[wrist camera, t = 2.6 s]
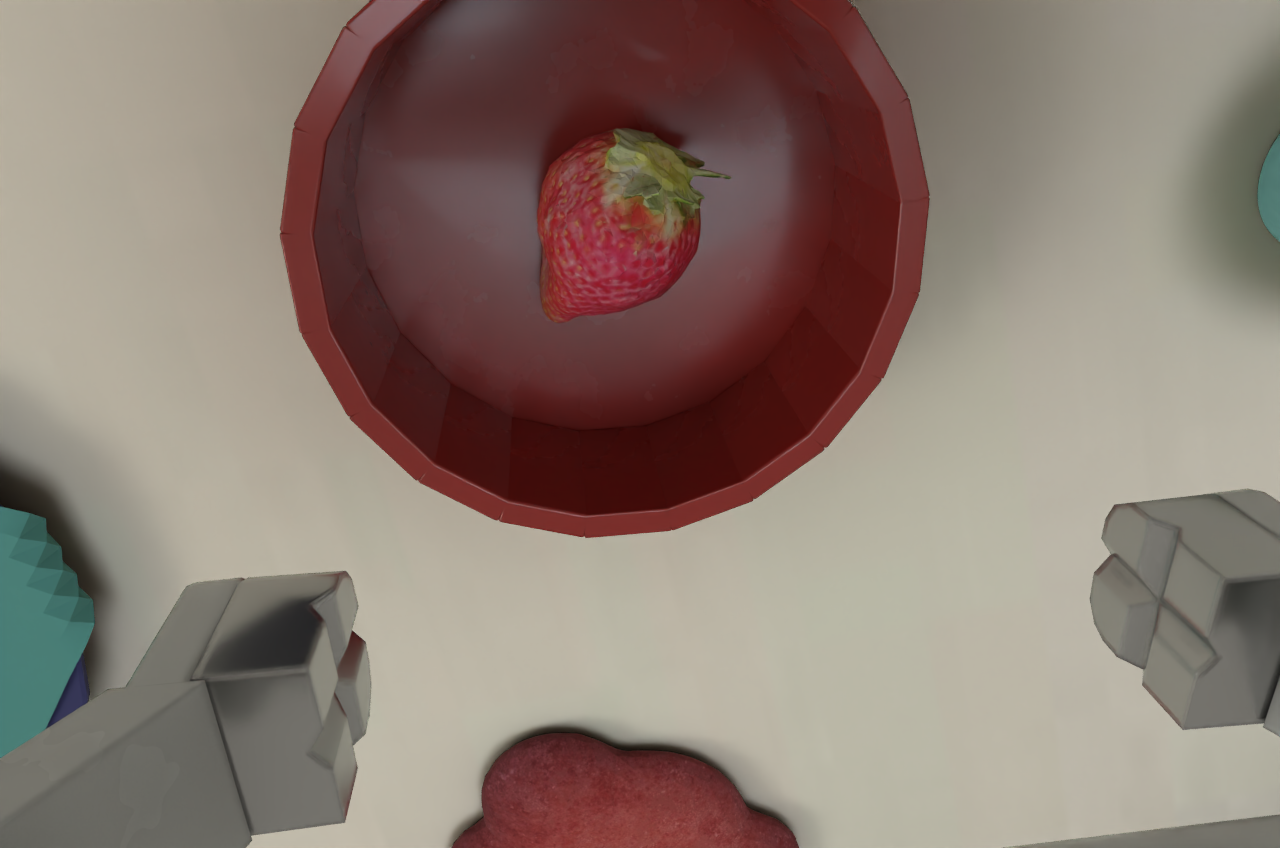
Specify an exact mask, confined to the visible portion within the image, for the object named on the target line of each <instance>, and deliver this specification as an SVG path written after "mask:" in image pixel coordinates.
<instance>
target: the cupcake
mask: <svg viewBox="0 0 1280 848" xmlns="http://www.w3.org/2000/svg"><path fill="white" fill-rule="evenodd" d="M1258 206H1259V211H1260V215H1261V218H1262V220H1263V222H1264V224H1265V226H1266V228H1267V229H1268V230H1269V232H1270V233H1271V234H1272V235H1273V236H1274V237H1275V238H1276V239H1277V240H1278V241H1279V242H1280V134H1279V136H1278V137H1277V139H1276V140H1275V142H1274V143H1273V145H1272V147H1271V149H1270V150H1269V152H1268V155H1267V157H1266V159H1265V161H1264V164H1263V167H1262V170H1261V174H1260V178H1259V183H1258Z"/></svg>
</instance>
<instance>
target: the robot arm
mask: <svg viewBox="0 0 1280 848" xmlns="http://www.w3.org/2000/svg"><path fill="white" fill-rule="evenodd" d="M1101 539H1102V540H1103V542H1104V544H1105V545H1106V547H1107V549H1108V550H1109V552H1110V554H1111V555H1110V556H1109V557H1108V558H1107V559H1106V560H1105V561H1104V562H1103V564H1102V565H1101V566H1100V567H1099V568H1098V569H1097V570H1096V571H1095V572H1094V576H1093V582H1092V588H1091V594H1090V603H1091V608H1092V614H1093V619H1094V624H1095V626H1096V628H1097V630H1098V632H1099V634H1100V636H1101V638H1102V640H1103V641H1104V642H1105V644H1106V645H1107V646H1108V647H1109V648H1110V649H1111V651H1112V652H1113V653H1114V654H1115V655H1116V656H1117V657H1118V658H1120V659H1123V660H1125V661H1127V662H1129V663H1131V664H1133V665H1135V666H1137V667H1139V668H1141V669H1143V680H1142V685H1143V687H1144V688H1145V689H1146V690H1147V691H1148V692H1149V693H1150V694H1151V695H1152V696H1153V698H1154V699H1155V700H1156V701H1157V702H1158V703H1159V704H1160V705H1161V706H1162V707H1163V709H1164V710H1165V711H1166V712H1167V713H1168V714H1169V715H1170V716H1171V717H1172V719H1173V720H1174V721H1175V722H1176V723H1177V724H1178V725H1179V726H1180V727H1181V728H1182V730H1187V729H1199V728H1211V727H1223V726H1236V725H1248V724H1260V723H1264V726H1263V727H1264V728H1266V729H1267V730H1269V731H1271V732H1273V733H1274V734H1276V735H1278V736H1279V737H1280V502H1279V501H1277V500H1276V499H1274V498H1273V497H1271V496H1270V495H1268V494H1267V493H1265V492H1261V491H1257V490H1252V489H1241V490H1233V491H1225V492H1217V493H1209V494H1203V495H1196V496H1187V497H1178V498H1170V499H1161V500H1152V501H1143V502H1134V503H1125V504H1116V505H1114V506H1113V508H1112V510H1111V511H1110V513H1109V514H1108V516H1107V517H1106V520H1105V524H1104V528H1103V533H1102V537H1101ZM357 610H358V602H357V598H356V594H355V589H354V585H353V581H352V578H351V577H350V576H349V574H348V573H347V572H346V571H337V572H323V573H308V574H294V575H279V576H264V577H250V578H246V579H243V578H232V579H223V580H213V581H203V582H196V583H193V584H191V585H188V586H187V587H186V588H185V589H184V590H183V592H182V594H181V595H180V597H179V599H178V600H177V602H176V604H175V605H174V607H173V609H172V610H171V612H170V614H169V615H168V617H167V619H166V620H165V622H164V624H163V625H162V627H161V629H160V630H159V632H158V634H157V635H156V637H155V639H154V640H153V642H152V644H151V645H150V647H149V649H148V650H147V652H146V654H145V655H144V657H143V659H142V660H141V662H140V664H139V665H138V667H137V669H136V670H135V672H134V674H133V675H132V677H131V679H130V680H129V682H128V684H127V685H126V687H125V688H116V689H108V690H106V691H105V692H103V693H102V694H100V695H99V696H97V697H95V698H94V699H92V700H91V701H89V702H88V703H86V704H85V705H83V706H81V707H80V708H78V709H77V710H75V711H74V712H72V713H70V714H69V715H67V716H66V717H64V718H63V719H61V720H60V721H58V722H56V723H55V724H53V725H52V726H50V727H49V728H47V729H45V730H44V731H42V732H41V733H39V734H38V735H36V736H35V737H33V738H31V739H30V740H28V741H27V742H25V743H24V744H22V745H20V746H19V747H17V748H16V749H14V750H13V751H11V752H9V753H8V754H6V755H5V756H3V757H2V758H0V848H246V847H247V846H248V844H249V843H250V842H251V841H252V838H251V836H252V835H259V834H266V833H273V832H280V831H288V830H295V829H302V828H309V827H317V826H324V825H331V824H338V823H345V820H346V816H347V812H348V807H349V803H350V799H351V795H352V790H353V786H354V782H355V778H356V773H357V769H358V767H357V763H356V758H355V753H354V748H353V745H354V744H355V743H356V742H358V741H359V740H360V739H361V738H362V737H363V736H364V735H365V734H366V729H367V724H368V719H369V714H370V699H371V676H370V664H369V658H368V652H367V647H366V642H365V641H364V640H363V639H362V638H360V637H359V636H358V635H357V634H356V633H355V632H353V631H352V628H353V624H354V621H355V617H356V613H357ZM1004 848H1280V815H1272V816H1263V817H1255V818H1246V819H1238V820H1230V821H1221V822H1213V823H1204V824H1196V825H1188V826H1179V827H1171V828H1162V829H1154V830H1145V831H1137V832H1129V833H1120V834H1112V835H1103V836H1095V837H1087V838H1078V839H1070V840H1061V841H1053V842H1045V843H1037V844H1029V845H1020V846H1012V847H1004Z"/></svg>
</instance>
